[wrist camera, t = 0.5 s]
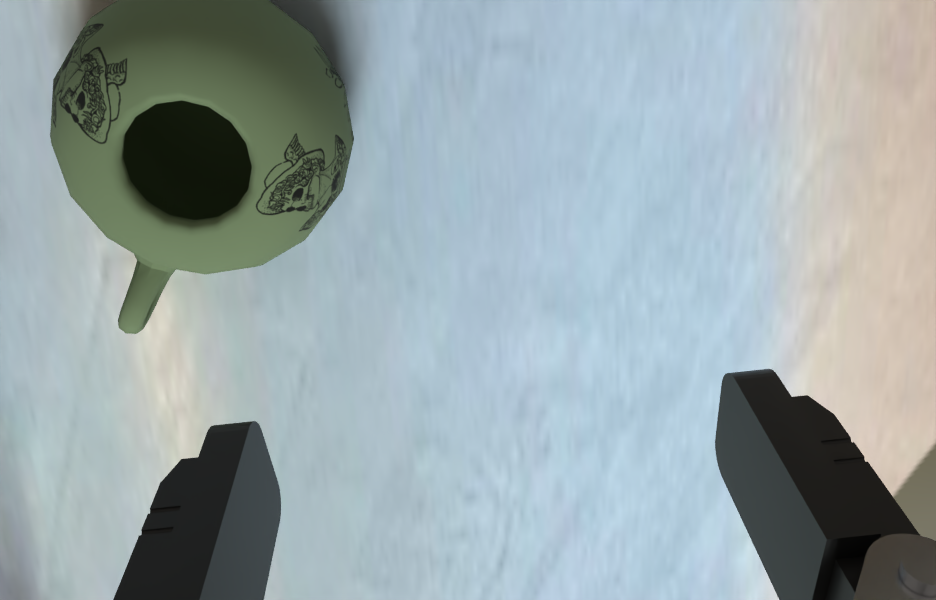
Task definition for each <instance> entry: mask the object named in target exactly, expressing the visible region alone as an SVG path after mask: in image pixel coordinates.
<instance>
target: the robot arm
mask: <svg viewBox="0 0 936 600" xmlns="http://www.w3.org/2000/svg"><path fill="white" fill-rule="evenodd" d="M715 448H716V457H717V462H718V466H719V470H720V473H721V475H722V478H723V480H724V482H725V484H726V486H727V488H728V491H729V493H730V495H731V497H732V499H733V501H734V503H735V506H736V508H737V510H738V512H739V514H740V516H741V518H742V521H743V523H744V525H745V527H746V529H747V531H748V533H749V536H750V538H751V540H752V542H753V544H754V546H755V548H756V550H757V553H758V555H759V557H760V559H761V561H762V563H763V565H764V568H765V570H766V572H767V574H768V576H769V578H770V580H771V583H772V585H773V587H774V589H775V591H776V593H777V595H778V598H779V600H936V541H935V540H933V539H930V538H927V537H923V536H920V534H919V533H918V532H917V530H916V529H915V528H914V526H913V525H912V523H911V522H910V521H909V519H908V518H907V516H906V515H905V514H904V512H903V511H902V509H901V508H900V506H899V505H898V504H897V503H896V501H895V499H894V498H893V497H892V495H891V494H890V492H889V491H888V490H887V488H886V487H885V485H884V484H883V483H882V481H881V480H880V478H879V477H878V475H877V474H876V473H875V471H874V470H873V468H872V467H871V466H870V464H869V463H868V462H865V460H864V456H863V454H862V453H861V452H860V450H859V449H858V447H857V446H856V445H855V443H854V442H853V443H852V442H851V437H850V436H849V435H848V433H847V432H846V430H845V429H844V428H843V426H842V425H841V423H840V422H839V421H838V419H837V418H836V416H835V415H834V414H833V413H831V412H830V411H829V410H827V409H826V408H824V407H823V406H822V405H820V404H819V403H817V402H816V401H815V400H813V399H812V398H810V397H809V396H808V395H807V396H797V397H791V395H790V394H789V392H788V391H787V389H786V388H785V386H784V385H783V383H782V382H781V380H780V379H779V377H778V376H777V374H776V373H775V372H774V371H773V370H771V369H764V370H754V371H744V372H735V373H727V374H725V375H724V377H723V380H722V386H721V395H720V404H719V412H718V421H717V430H716V439H715ZM280 515H281V498H280V489H279V485H278V481H277V478H276V475H275V472H274V468H273V465H272V462H271V459H270V456H269V453H268V449H267V446H266V443H265V440H264V437H263V433H262V430H261V428H260V426H259V424H258V423H257V422H256V421H252V422H242V423H233V424H223V425H214V426H211V427H210V428H209V430H208V432H207V435H206V437H205V440H204V443H203V446H202V449H201V451H200V454H199V457H198V458H188V459H181V460H180V462H179V463H178V464H177V465H176V466H175V467H174V468H173V469H172V471H171V472H170V473H169V474H168V475H167V476H166V477H165V478H164V480H163V481H162V482H161V483H160V485H159V488H158V490H157V493H156V495H155V498H154V500H153V503H152V505H151V508H150V514H148V515H147V518H146V520H145V523H144V525H143V527H142V535H141V536H139V537H138V540H137V542H136V545H135V547H134V550H133V552H132V555H131V557H130V560H129V562H128V565H127V567H126V570H125V572H124V575H123V577H122V580H121V582H120V585H119V587H118V590H117V592H116V595H115V597H114V600H264V595H265V590H266V585H267V581H268V576H269V571H270V566H271V561H272V556H273V551H274V547H275V542H276V537H277V532H278V527H279V522H280Z"/></svg>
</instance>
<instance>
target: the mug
mask: <svg viewBox="0 0 936 600" xmlns="http://www.w3.org/2000/svg"><path fill="white" fill-rule="evenodd" d="M50 137H51V143H52V146H53V149H54V152H55V155H56V157H57V160H58V163H59V165H60V168H61V171H62V174H63V176H64V179H65V182H66V185H67V187H68V190H69V193H70V196H71V197H72V198H73V199H74V200H75V201H76V203H77V204H78V205H79V206H80V207H81V208H82V209H83V211H84V212H85V213H86V214H87V215H88V216H89V217H90V219H91V220H92V221H93V222H94V223H95V224H96V225H97V227H98V228H99V229H100V230H101V231H102V232H103V233H104V235H105V236H106V237H107V238H109V239H111V240H112V241H114V242H116V243H117V244H119V245H121V246H122V247H124V248H126V249H127V250H129V251H131V252H132V253H134V254H135V257H136V259H137V263H136V267H135V270H134V274H133V277H132V280H131V283H130V286H129V289H128V292H127V294H126V297H125V300H124V303H123V306H122V308H121V311H120V315H119V319H118V324H119V328H120V329H121V330H123V331H124V332H125V333H132V334H136V333H138V332H140V331H141V330H142V329H144V327H145V325H146V323H147V322H148V320H149V318H150V316H151V314H152V312H153V310H154V308H155V306H156V304H157V302H158V299H159V297H160V295H161V293H162V291H163V289H164V287H165V285H166V284H167V282H168V280H169V278H170V276H171V275H172V274H173V272H174V271H175V270H176V269H178V270H183V271H189V272H195V273H201V274H211V273H218V272H224V271H231V270H237V269H244V268H251V267H256V266H260V265H263V264H265V263H267V262H268V261H270V260H272V259H273V258H275V257H277V256H278V255H280V254H282V253H284V252H285V251H287V250H289V249H290V248H292V247H294V246H295V245H297V244H299V243H301V242H302V241H304V240H305V239H306V238H307V237H308V235H309V234H310V233H311V232H312V230H313V229H314V228H315V226H316V225H317V224H318V222H319V221H320V220H321V218H322V217H323V215H324V214H325V213H326V211H327V210H328V209H329V207H330V206H331V205H332V203H333V202H334V201H335V199H336V198H337V197H338V195H339V194H340V193H341V191H342V190H343V186H344V182H345V177H346V173H347V168H348V164H349V159H350V155H351V150H352V146H353V141H354V137H353V131H352V126H351V120H350V115H349V109H348V103H347V98H346V92H345V87H344V84H343V82H342V80H341V79H340V77H339V76H338V74H337V72H336V71H335V69H334V68H333V66H332V64H331V63H330V61H329V60H328V58H327V56H326V55H325V53H324V52H323V50H322V48H321V47H320V45H319V44H318V42H317V40H316V39H315V37H314V36H313V34H312V33H311V32H309V31H308V30H307V29H305V28H304V27H303V26H301V25H300V24H299V23H297V22H296V21H295V20H294V19H292V18H291V17H290V16H288V15H287V14H286V13H284V12H283V11H282V10H280V9H279V8H278V7H277V6H275V5H274V4H273V3H271V2H270V1H269V0H117V1H116V2H114V3H113V4H111V5H110V6H108V7H107V8H105V9H104V10H102V11H100V12H99V13H97V14H96V15H94V16H93V17H91V18H90V20H89V21H88V23H87V24H86V25H85V27H84V28H83V30H82V31H81V33H80V35H79V36H78V38H77V40H76V42H75V43H74V45H73V47H72V49H71V50H70V52H69V54H68V55H67V57H66V59H65V61H64V62H63V64H62V66H61V68H60V69H59V71H58V73H57V74H56V76H55V78H54V81H53V98H52V116H51V133H50Z"/></svg>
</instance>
